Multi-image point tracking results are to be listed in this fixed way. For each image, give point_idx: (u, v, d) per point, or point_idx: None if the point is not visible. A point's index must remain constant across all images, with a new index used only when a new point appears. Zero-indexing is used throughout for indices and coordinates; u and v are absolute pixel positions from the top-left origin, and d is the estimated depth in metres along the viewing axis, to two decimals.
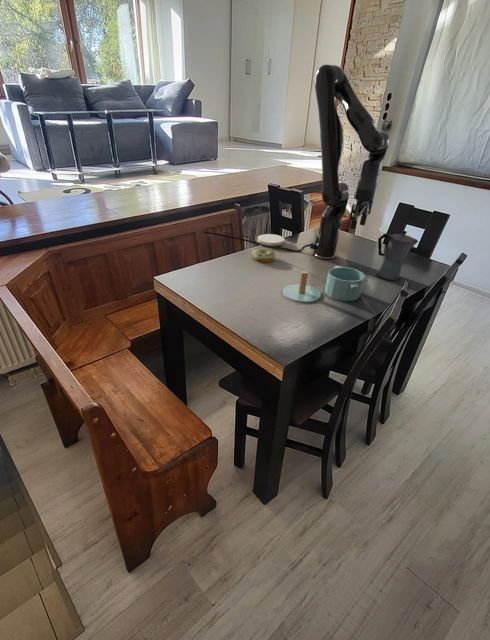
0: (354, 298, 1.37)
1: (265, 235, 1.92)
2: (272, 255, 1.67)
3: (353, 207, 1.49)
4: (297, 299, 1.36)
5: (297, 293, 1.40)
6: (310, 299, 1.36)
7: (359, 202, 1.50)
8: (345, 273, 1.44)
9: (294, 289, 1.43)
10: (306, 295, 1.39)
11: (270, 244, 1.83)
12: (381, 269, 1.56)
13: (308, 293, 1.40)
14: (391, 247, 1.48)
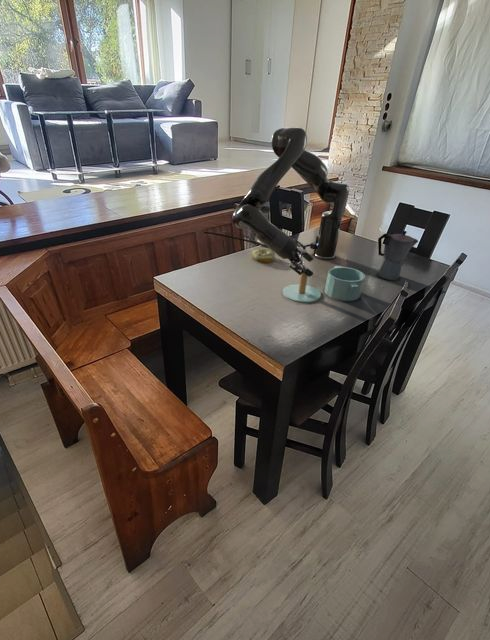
0: (354, 298, 1.37)
1: None
2: (272, 255, 1.67)
3: (292, 267, 1.30)
4: (297, 299, 1.36)
5: (297, 293, 1.40)
6: (310, 299, 1.36)
7: (291, 257, 1.30)
8: (345, 273, 1.44)
9: (294, 289, 1.43)
10: (306, 295, 1.39)
11: None
12: (381, 269, 1.56)
13: (308, 293, 1.40)
14: (391, 247, 1.48)
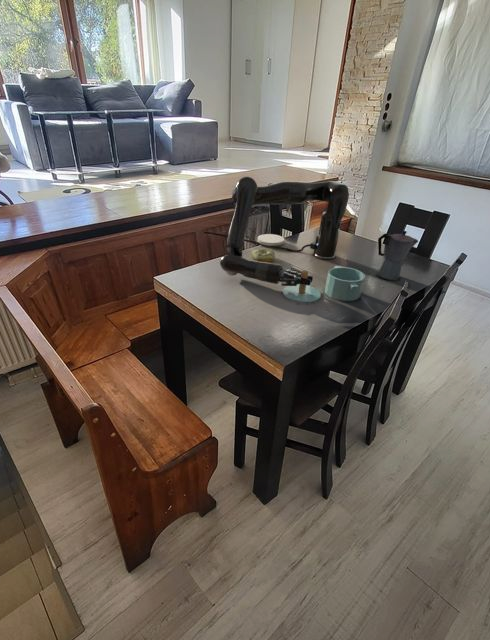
0: (354, 298, 1.37)
1: (265, 235, 1.92)
2: (272, 255, 1.67)
3: (284, 284, 1.35)
4: (297, 299, 1.36)
5: (297, 293, 1.40)
6: (310, 299, 1.36)
7: (278, 278, 1.38)
8: (345, 273, 1.44)
9: (294, 289, 1.43)
10: (306, 295, 1.39)
11: (270, 244, 1.83)
12: (381, 269, 1.56)
13: (308, 293, 1.40)
14: (391, 247, 1.48)
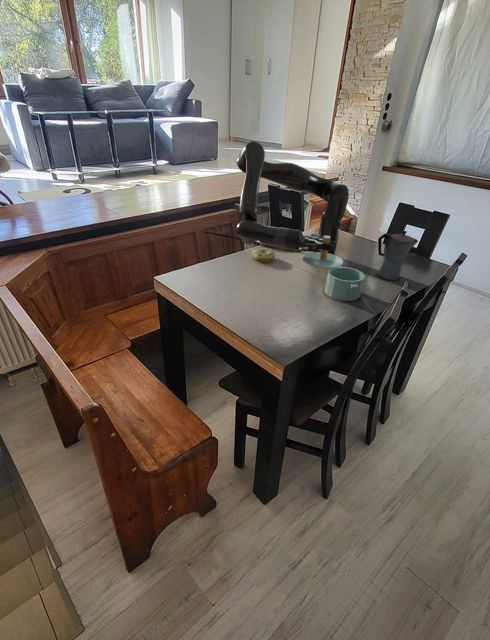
0: (354, 298, 1.37)
1: None
2: (272, 255, 1.67)
3: (305, 249, 1.28)
4: (319, 265, 1.29)
5: (318, 260, 1.33)
6: (332, 265, 1.29)
7: (298, 243, 1.31)
8: (345, 273, 1.44)
9: (314, 256, 1.36)
10: (328, 262, 1.32)
11: None
12: (381, 269, 1.56)
13: (330, 260, 1.33)
14: (391, 247, 1.48)
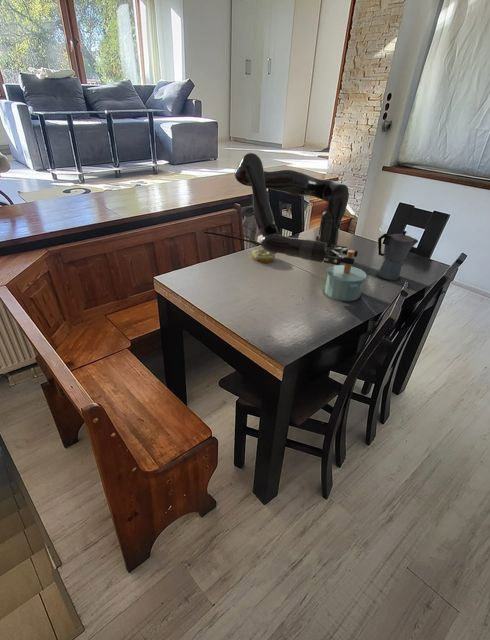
0: (354, 298, 1.37)
1: None
2: (272, 255, 1.67)
3: (326, 260, 1.32)
4: (343, 279, 1.33)
5: (342, 273, 1.37)
6: (357, 279, 1.33)
7: (324, 255, 1.34)
8: None
9: (338, 270, 1.40)
10: (352, 275, 1.36)
11: None
12: (381, 269, 1.56)
13: (353, 273, 1.37)
14: (391, 247, 1.48)
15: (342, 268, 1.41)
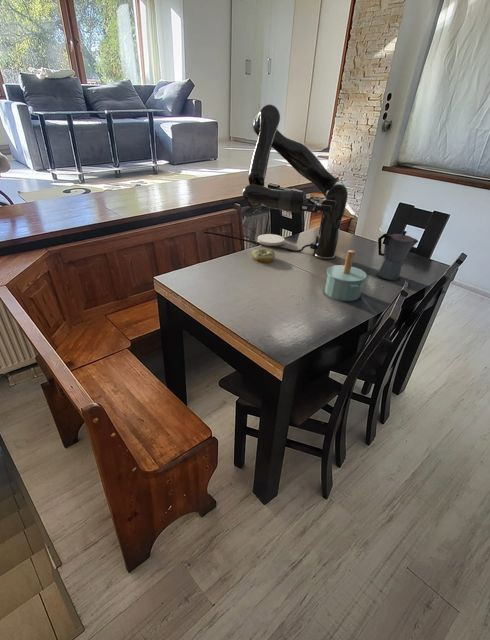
0: (354, 298, 1.37)
1: (265, 235, 1.92)
2: (272, 255, 1.67)
3: (304, 208, 1.34)
4: (343, 279, 1.33)
5: (342, 273, 1.37)
6: (357, 279, 1.33)
7: (302, 204, 1.36)
8: None
9: (338, 270, 1.40)
10: (352, 275, 1.36)
11: (270, 244, 1.83)
12: (381, 269, 1.56)
13: (353, 273, 1.37)
14: (391, 247, 1.48)
15: (342, 268, 1.41)
